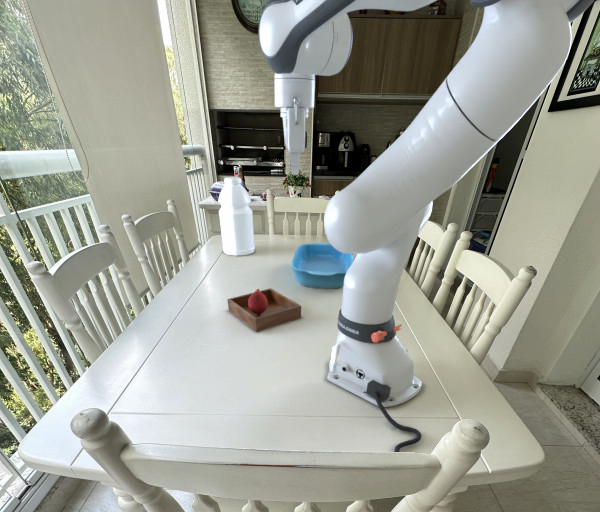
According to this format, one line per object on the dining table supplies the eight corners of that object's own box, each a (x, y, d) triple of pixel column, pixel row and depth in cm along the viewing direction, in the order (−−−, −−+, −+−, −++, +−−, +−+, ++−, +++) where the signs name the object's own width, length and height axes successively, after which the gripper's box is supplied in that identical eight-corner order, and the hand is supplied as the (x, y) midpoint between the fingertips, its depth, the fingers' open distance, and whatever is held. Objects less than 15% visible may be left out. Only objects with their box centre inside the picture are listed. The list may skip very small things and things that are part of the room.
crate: (301, 318, 106) (301, 305, 103) (256, 332, 98) (255, 319, 96) (271, 299, 116) (270, 288, 114) (228, 311, 109) (227, 299, 106)
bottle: (252, 256, 151) (248, 180, 134) (220, 255, 151) (211, 179, 134) (256, 247, 162) (252, 175, 145) (226, 246, 162) (218, 175, 145)
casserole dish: (353, 295, 120) (355, 274, 116) (288, 291, 122) (288, 270, 117) (350, 261, 149) (352, 243, 144) (298, 258, 150) (298, 240, 146)
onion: (265, 320, 103) (263, 293, 98) (246, 318, 104) (244, 291, 99) (270, 311, 108) (269, 286, 103) (252, 309, 109) (250, 284, 104)
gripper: (313, 96, 70) (310, 178, 78) (305, 99, 85) (303, 167, 94) (281, 95, 69) (282, 177, 78) (279, 99, 85) (280, 167, 94)
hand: (293, 172), depth 86 cm, fingers open, 8 cm apart
